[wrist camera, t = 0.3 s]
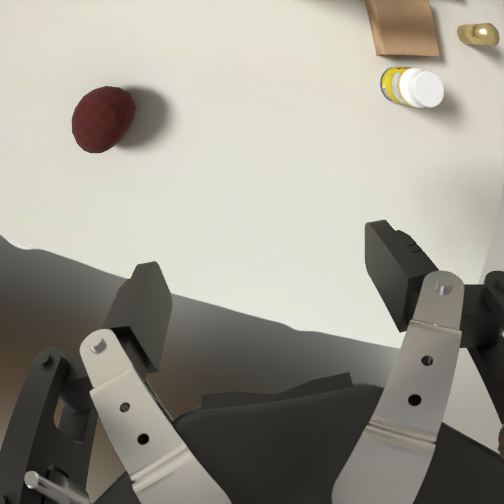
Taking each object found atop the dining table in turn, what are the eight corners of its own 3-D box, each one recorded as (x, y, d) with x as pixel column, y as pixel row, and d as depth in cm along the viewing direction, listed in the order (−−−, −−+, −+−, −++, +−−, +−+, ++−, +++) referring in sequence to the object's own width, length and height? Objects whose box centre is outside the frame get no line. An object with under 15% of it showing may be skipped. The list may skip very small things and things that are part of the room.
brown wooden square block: (363, -3, 26) (372, -8, 24) (416, 2, 26) (428, -1, 23) (375, 55, 30) (385, 54, 28) (427, 56, 30) (439, 56, 27)
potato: (73, 112, 32) (49, 120, 27) (122, 71, 30) (102, 71, 25) (103, 155, 35) (83, 169, 30) (153, 118, 34) (138, 125, 28)
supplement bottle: (413, 74, 31) (450, 77, 24) (407, 106, 33) (443, 117, 26) (381, 62, 30) (415, 61, 23) (375, 96, 33) (407, 103, 26)
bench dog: (455, 23, 26) (482, 21, 21) (470, 26, 26) (497, 25, 21) (459, 43, 28) (486, 43, 22) (473, 45, 27) (500, 46, 22)
